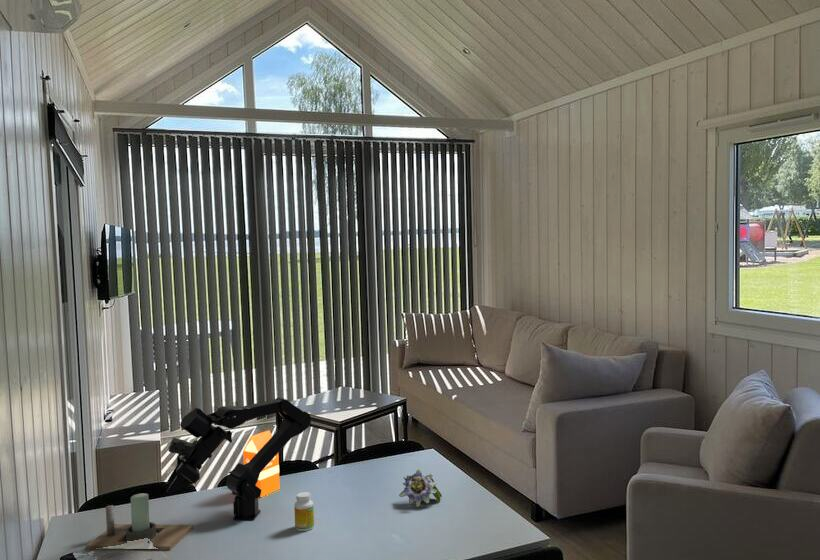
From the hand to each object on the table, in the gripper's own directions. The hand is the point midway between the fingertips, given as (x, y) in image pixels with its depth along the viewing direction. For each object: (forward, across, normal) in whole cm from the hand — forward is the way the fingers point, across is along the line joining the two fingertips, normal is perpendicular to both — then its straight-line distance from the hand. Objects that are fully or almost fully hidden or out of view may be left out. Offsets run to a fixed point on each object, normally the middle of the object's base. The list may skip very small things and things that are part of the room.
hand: (167, 488), depth 180 cm
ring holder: (+15, 0, +4) cm, 15 cm away
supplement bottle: (-16, +12, +35) cm, 41 cm away
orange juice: (-11, -23, +30) cm, 39 cm away
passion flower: (-43, +7, +62) cm, 76 cm away
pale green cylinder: (+15, 0, +4) cm, 15 cm away
